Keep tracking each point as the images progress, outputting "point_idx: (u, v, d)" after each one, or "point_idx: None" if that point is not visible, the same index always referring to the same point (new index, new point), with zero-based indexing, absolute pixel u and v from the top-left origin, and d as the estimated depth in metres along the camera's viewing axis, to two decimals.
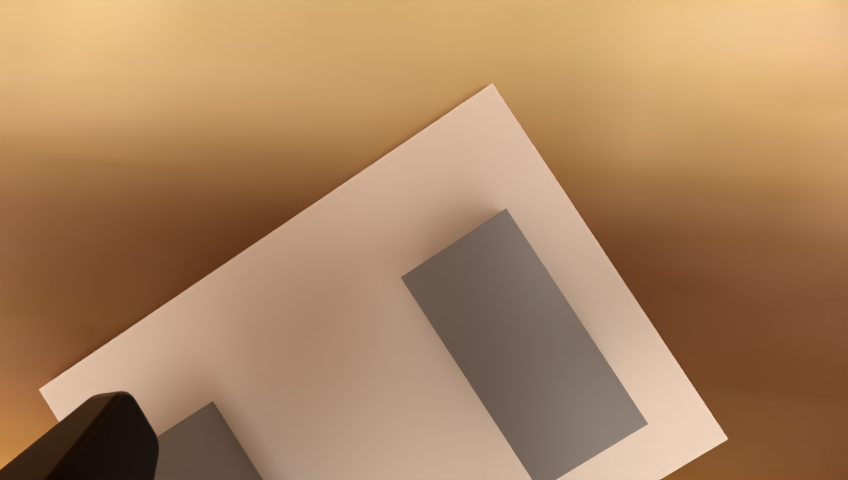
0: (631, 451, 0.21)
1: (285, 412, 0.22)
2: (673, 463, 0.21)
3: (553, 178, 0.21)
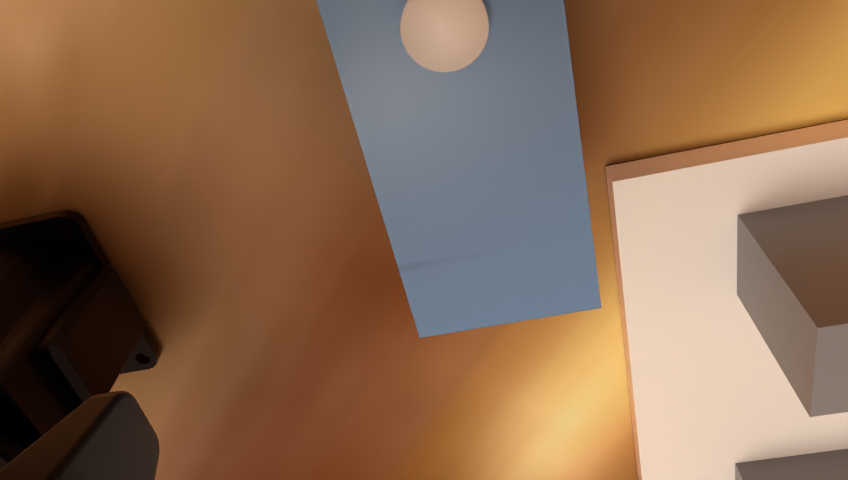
0: None
1: None
2: None
3: None
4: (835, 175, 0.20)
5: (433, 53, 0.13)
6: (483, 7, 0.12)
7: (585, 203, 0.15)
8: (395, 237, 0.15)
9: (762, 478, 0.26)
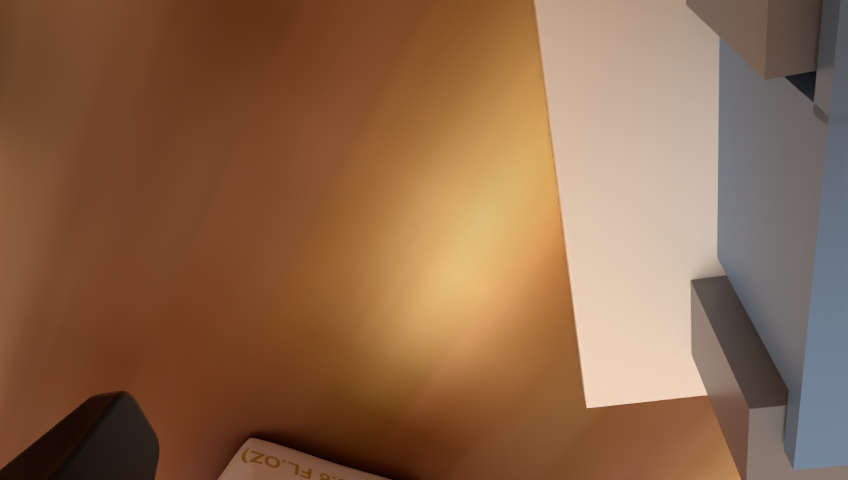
0: (616, 346, 0.22)
1: None
2: (588, 369, 0.23)
3: None
4: None
5: None
6: None
7: None
8: (809, 378, 0.15)
9: (722, 293, 0.20)
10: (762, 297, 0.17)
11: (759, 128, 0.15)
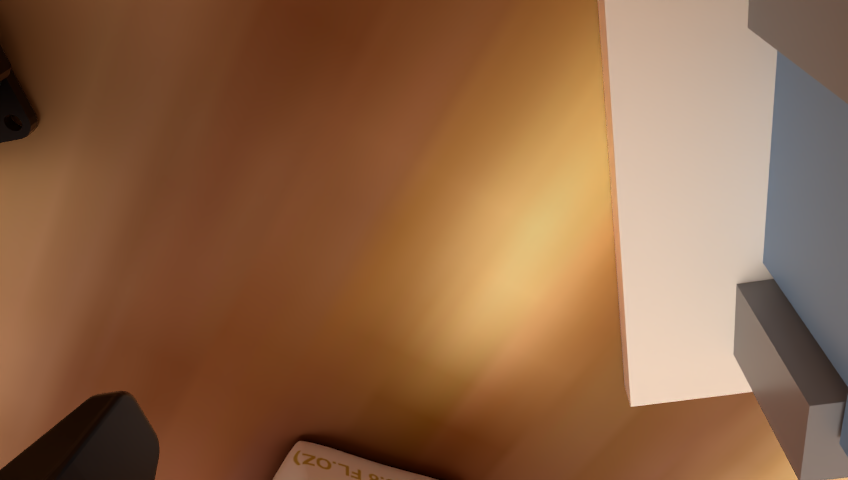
0: (662, 347, 0.23)
1: None
2: (634, 369, 0.24)
3: None
4: None
5: None
6: None
7: None
8: None
9: (769, 296, 0.21)
10: (819, 301, 0.18)
11: (823, 145, 0.16)
